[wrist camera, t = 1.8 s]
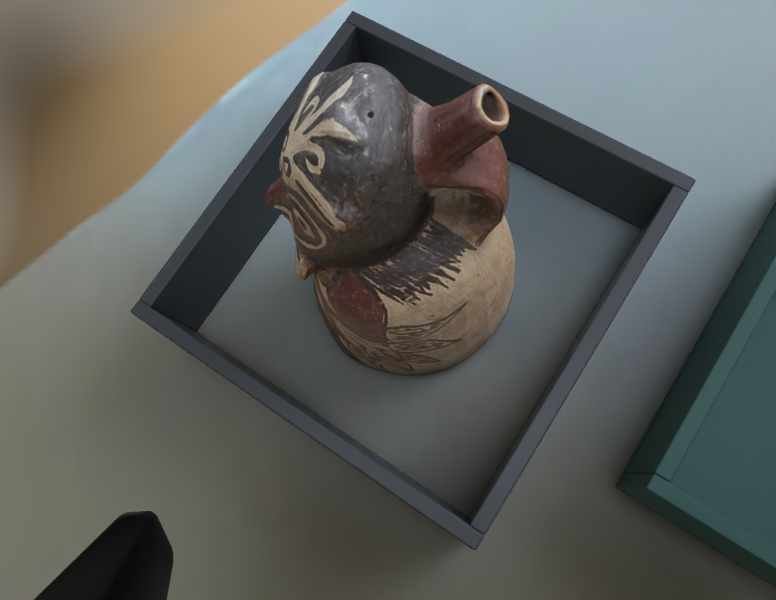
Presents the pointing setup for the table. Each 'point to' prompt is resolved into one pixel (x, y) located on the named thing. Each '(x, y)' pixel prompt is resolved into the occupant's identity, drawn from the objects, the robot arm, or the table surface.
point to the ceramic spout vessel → (399, 216)
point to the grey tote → (521, 144)
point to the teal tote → (722, 425)
